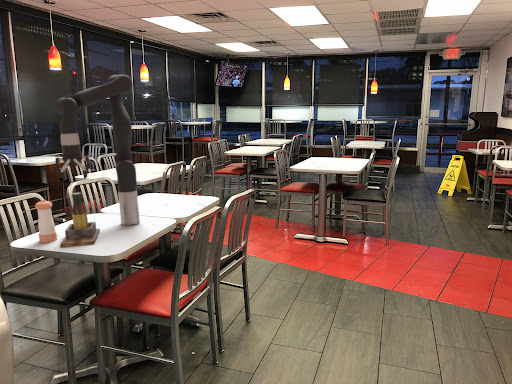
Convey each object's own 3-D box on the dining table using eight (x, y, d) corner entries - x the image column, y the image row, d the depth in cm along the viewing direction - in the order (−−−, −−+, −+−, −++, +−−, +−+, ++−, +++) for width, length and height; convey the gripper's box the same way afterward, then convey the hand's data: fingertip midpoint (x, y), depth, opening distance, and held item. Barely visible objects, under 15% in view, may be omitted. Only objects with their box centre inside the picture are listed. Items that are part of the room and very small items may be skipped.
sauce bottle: (81, 232, 195) (76, 191, 191) (92, 232, 193) (87, 191, 190) (71, 236, 189) (66, 194, 185) (83, 237, 187) (78, 194, 183)
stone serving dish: (99, 231, 201) (98, 220, 200) (94, 243, 182) (93, 231, 181) (69, 234, 197) (67, 223, 196) (60, 247, 178) (59, 235, 177)
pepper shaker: (52, 236, 194) (47, 197, 190) (59, 239, 190) (54, 199, 186) (36, 240, 189) (31, 200, 185) (43, 243, 184) (38, 202, 180)
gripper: (88, 142, 188) (92, 177, 191) (55, 144, 185) (59, 179, 188) (86, 143, 181) (90, 179, 184) (51, 145, 177) (56, 181, 181)
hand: (75, 179), depth 186 cm, fingers open, 8 cm apart
